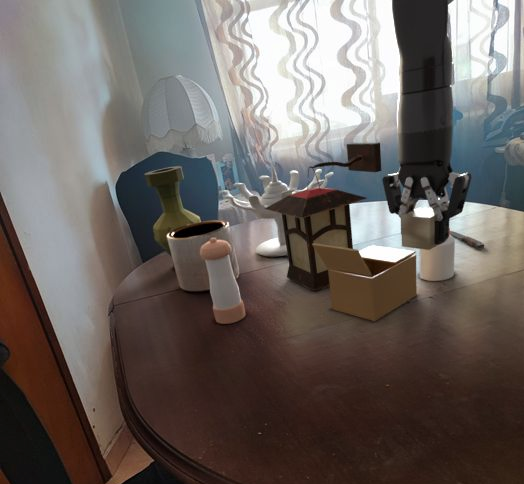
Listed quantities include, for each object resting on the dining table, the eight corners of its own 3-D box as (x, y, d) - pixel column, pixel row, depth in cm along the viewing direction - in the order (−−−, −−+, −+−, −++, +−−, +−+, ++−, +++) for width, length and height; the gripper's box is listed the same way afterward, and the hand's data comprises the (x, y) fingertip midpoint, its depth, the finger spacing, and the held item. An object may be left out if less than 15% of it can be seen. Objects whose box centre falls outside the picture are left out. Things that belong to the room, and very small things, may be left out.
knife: (422, 225, 144) (438, 222, 144) (422, 229, 145) (438, 226, 145) (467, 247, 120) (486, 243, 120) (467, 252, 120) (486, 247, 120)
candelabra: (252, 277, 132) (233, 178, 119) (222, 250, 162) (204, 168, 149) (358, 247, 139) (351, 150, 126) (311, 226, 169) (301, 146, 156)
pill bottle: (438, 283, 106) (438, 236, 101) (412, 276, 112) (411, 232, 107) (461, 273, 109) (462, 227, 104) (435, 266, 115) (435, 223, 110)
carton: (374, 321, 95) (371, 274, 91) (332, 309, 104) (327, 266, 99) (416, 295, 103) (416, 251, 98) (373, 286, 111) (371, 245, 107)
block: (446, 240, 74) (447, 209, 72) (429, 250, 71) (429, 218, 69) (419, 237, 78) (419, 207, 75) (401, 246, 75) (400, 215, 73)
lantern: (395, 267, 120) (391, 142, 105) (311, 298, 111) (294, 167, 97) (353, 253, 135) (344, 142, 121) (275, 279, 127) (256, 164, 112)
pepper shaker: (215, 326, 107) (195, 245, 98) (216, 313, 113) (197, 237, 104) (245, 320, 107) (228, 239, 98) (245, 308, 113) (229, 231, 104)
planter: (173, 283, 139) (159, 231, 132) (227, 266, 144) (217, 216, 137) (190, 300, 124) (175, 243, 117) (249, 281, 129) (238, 225, 122)
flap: (372, 274, 91) (371, 276, 91) (328, 266, 99) (327, 267, 99) (357, 249, 86) (356, 251, 86) (312, 243, 94) (311, 244, 94)
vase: (159, 266, 158) (132, 174, 144) (203, 253, 162) (182, 163, 148) (169, 278, 144) (140, 178, 130) (217, 264, 148) (195, 166, 134)
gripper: (487, 117, 63) (479, 238, 71) (397, 124, 73) (399, 230, 81) (457, 126, 59) (453, 254, 67) (367, 133, 69) (373, 243, 78)
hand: (423, 240), depth 74 cm, fingers closed on block, 5 cm apart
